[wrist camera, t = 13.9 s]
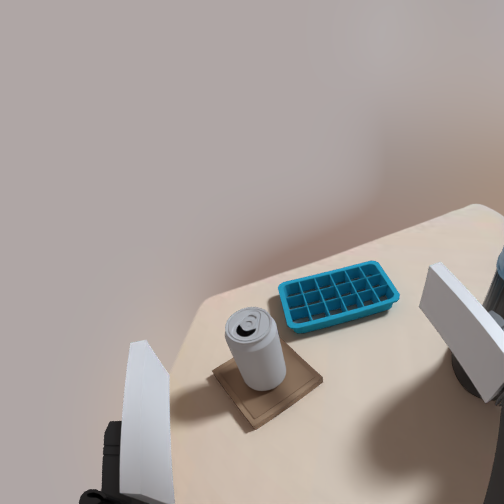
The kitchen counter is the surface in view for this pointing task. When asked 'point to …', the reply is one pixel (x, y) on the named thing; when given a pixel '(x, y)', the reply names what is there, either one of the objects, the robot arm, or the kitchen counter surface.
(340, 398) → the kitchen counter surface
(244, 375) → the beverage can
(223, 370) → the walnut block
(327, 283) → the ice cube tray
